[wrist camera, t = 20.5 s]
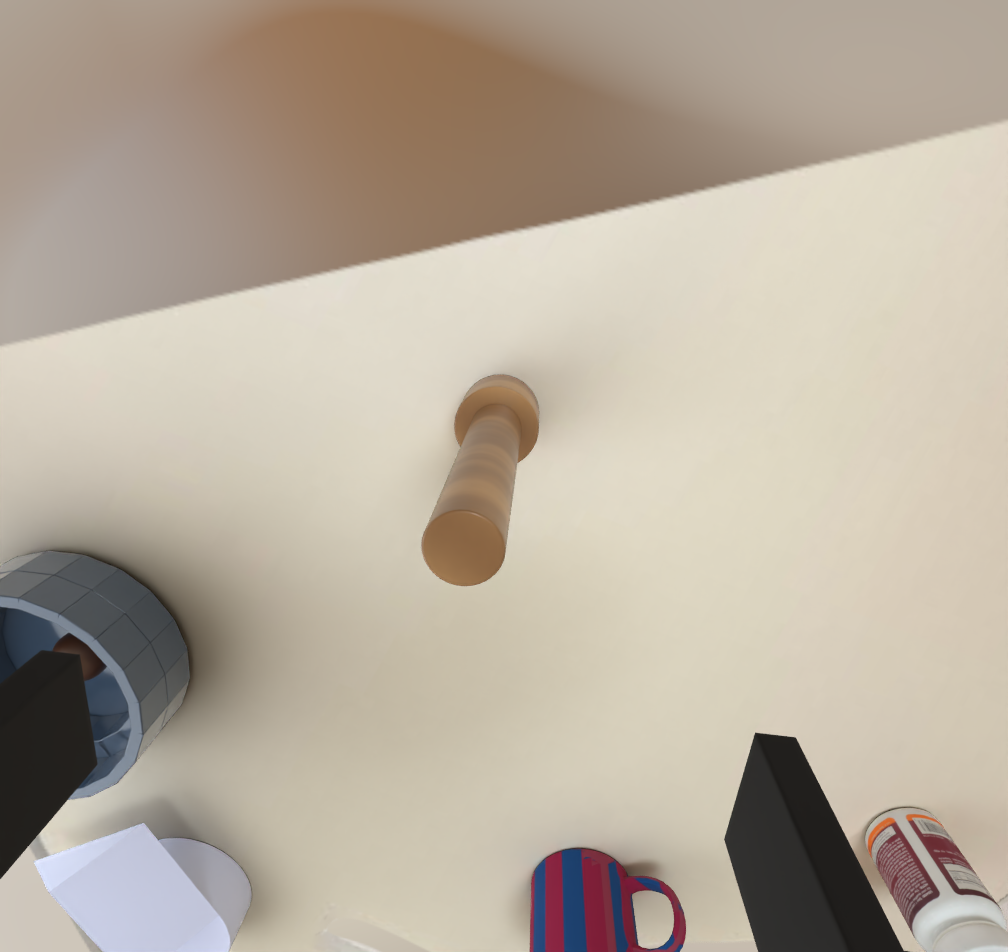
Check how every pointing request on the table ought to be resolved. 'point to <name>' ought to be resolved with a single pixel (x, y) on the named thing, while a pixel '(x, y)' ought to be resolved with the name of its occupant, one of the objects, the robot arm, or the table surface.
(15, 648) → the bowl
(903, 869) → the pill bottle
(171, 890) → the wedge on round base
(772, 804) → the robot arm
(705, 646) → the table surface
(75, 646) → the bead
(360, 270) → the table surface
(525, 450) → the muddler
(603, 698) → the table surface
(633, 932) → the mug
